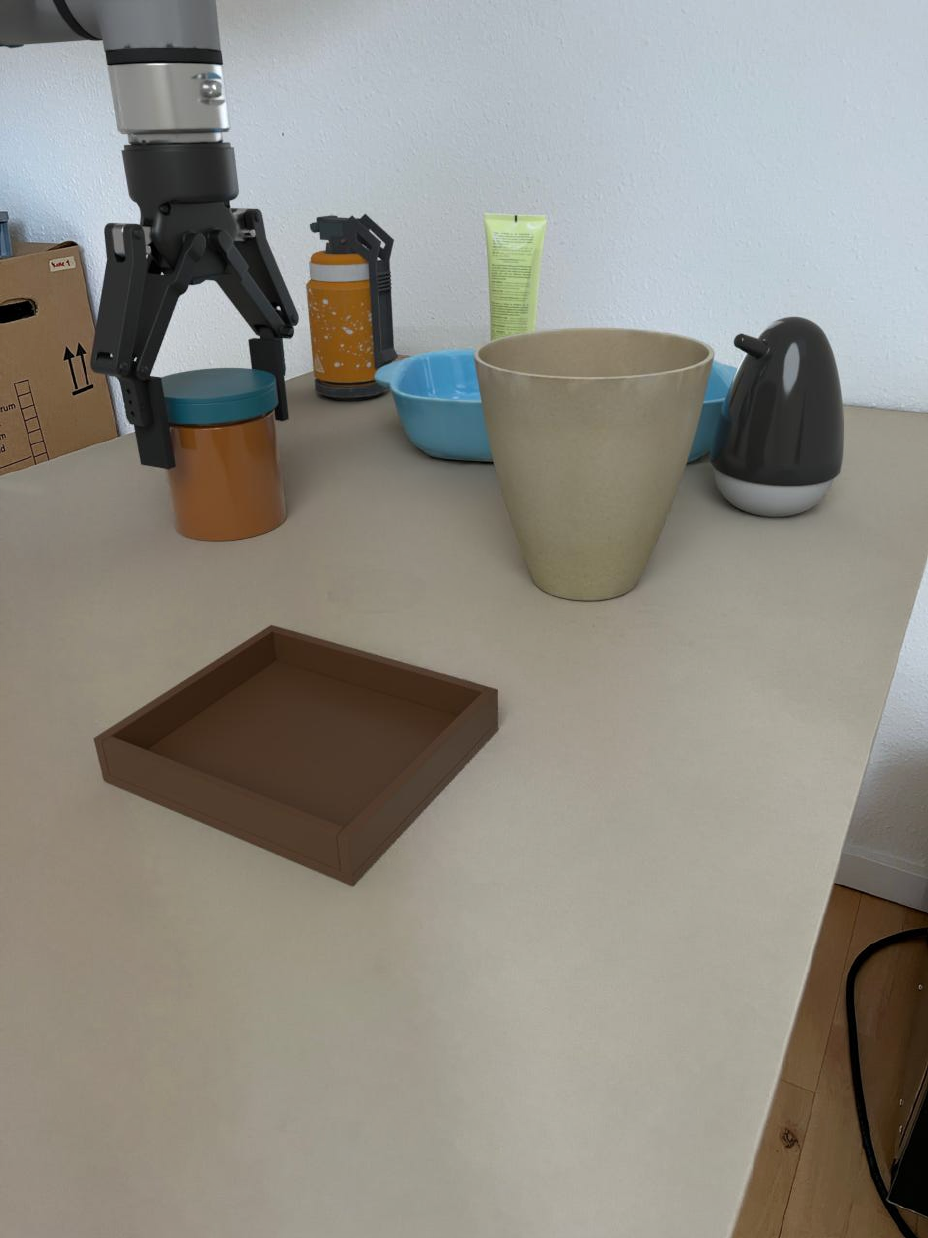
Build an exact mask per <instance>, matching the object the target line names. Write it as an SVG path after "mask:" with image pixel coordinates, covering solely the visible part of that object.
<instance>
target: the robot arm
mask: <svg viewBox="0 0 928 1238" xmlns="http://www.w3.org/2000/svg"><path fill="white" fill-rule="evenodd" d="M218 19H219V17H218V9H217V0H0V47H1V48H3V47H4V48H5V47H6V48H8V49H15V48H16V49H18V48H21V47H24V46H25V45H40V44H41V45H42V44H55V43H68V42H81V41H93V42H99V41H100V42H101V41H102V45H103V51H104V53H105V59H106V60H105V61H106V65H107V72H108V79H109V84H110V91H111V97H112V103H113V110H114V116H115V122H116V128H117V131H118V132H119V133H120V134H121V135H127V142H128V144H124V145H123V149H121V157H122V163H123V168H124V175H125V181H126V187H127V193H128V196H129V198H130V200H131V201H132V202H134V203H135V204H136V205H137V206H138V208H139V212H140V213H139V214H140V219H139V223H129V222H127V223H126V222H107V223H106V224H105V225H104V229H103V234H104V235H103V236H104V245H105V254H106V255H105V256H106V262H105V269H104V275H103V281H102V287H101V293H100V299H99V306H98V311H97V318H96V323H95V330H94V335H93V342H92V347H91V348H92V349H91V354H90V361H89V364H90V365H89V366H90V369H91V371H92V372H93V373H94V374H99V375H105V376H109V377H114V378H116V379H117V381H118V382H119V383H118V384H119V386H120V391H121V397H122V402H123V407H124V412H125V418H126V420H127V422H128V424H129V425H133V429H134V434H135V440H136V445H137V450H138V456H139V461H140V466H146V467H153V468H158V469H164V470H165V469H168V470H169V469H171V468H174V467H176V463H175V457H174V451H173V446H172V440H171V434H170V428H169V422H168V416H167V410H166V404H165V398H164V392H163V386H162V380H161V377H162V376H153V375H151V374H152V371H153V369H154V366H155V363H156V361H157V358H158V355H159V353H160V350H161V347H162V345H163V341H164V339H165V336H166V334H167V331H168V328H169V326H170V322H171V320H172V318H173V315H174V312H175V309H176V306H177V304H178V301H179V298H180V297H181V296H182V295H184V294H185V293H186V292H187V291H188V289H189V286H197V285H201V284H203V283H204V282H206V281H213V282H215V283H216V284H217V286H219V288H220V289H221V290H222V292H223V294H224V295H225V296H226V297H227V298H228V300H229V301H230V302H231V304H232V305H233V307H234V308H235V309H236V310H237V311H238V313H239V314H240V316H241V317H242V318H243V319H244V321H245V322H246V324H247V325H248V326H249V327H250V329H251V330H252V332H253V333H254V334H255V335H256V337H251V338H249V339H247V340H248V348H249V349H248V350H249V356H250V357H249V358H250V365H251V369H256V370H261V371H265V372H268V373H271V374H273V375H274V376H275V378H276V386H277V395H278V405H277V406H276V407H275V408H274V410H275V418H276V422H277V421H278V422H286V421H288V420H290V418H289V409H288V408H289V407H288V399H287V390H286V381H285V380H286V379H285V376H286V372H287V366H286V358H285V356H286V355H285V347H284V339H285V340H286V339H287V340H291V339H292V338H293V337H294V335H295V328H294V327H296V326H297V325H298V324H299V321H300V316H299V313H298V310H297V308H296V306H295V303H294V301H293V299H292V296H291V293H290V291H289V289H288V287H287V284H286V282H285V280H284V276H283V275H282V272H281V270H280V268H279V265H278V262H277V261H276V260H277V259H276V258H275V255H274V253H273V251H272V248H271V246H270V244H269V242H268V239H267V235H266V228H265V222H264V218H263V213H262V211H261V210H260V208H249V207H247V208H244V207H231V203H230V202H231V201H233V200H235V199H237V198H238V197H239V194H240V188H239V179H238V172H237V162H236V153H235V147H233V146H232V145H231V142H229V141H227V142H225V141H224V137H223V136H224V135H223V133H229V131H230V130H231V128H232V127H231V119H230V111H229V103H228V96H227V88H226V81H225V73H224V72H225V71H224V61H223V52H222V49H221V48H222V47H221V39H220V30H219V29H220V28H219V20H218ZM278 307H279V309H278Z"/></svg>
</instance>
